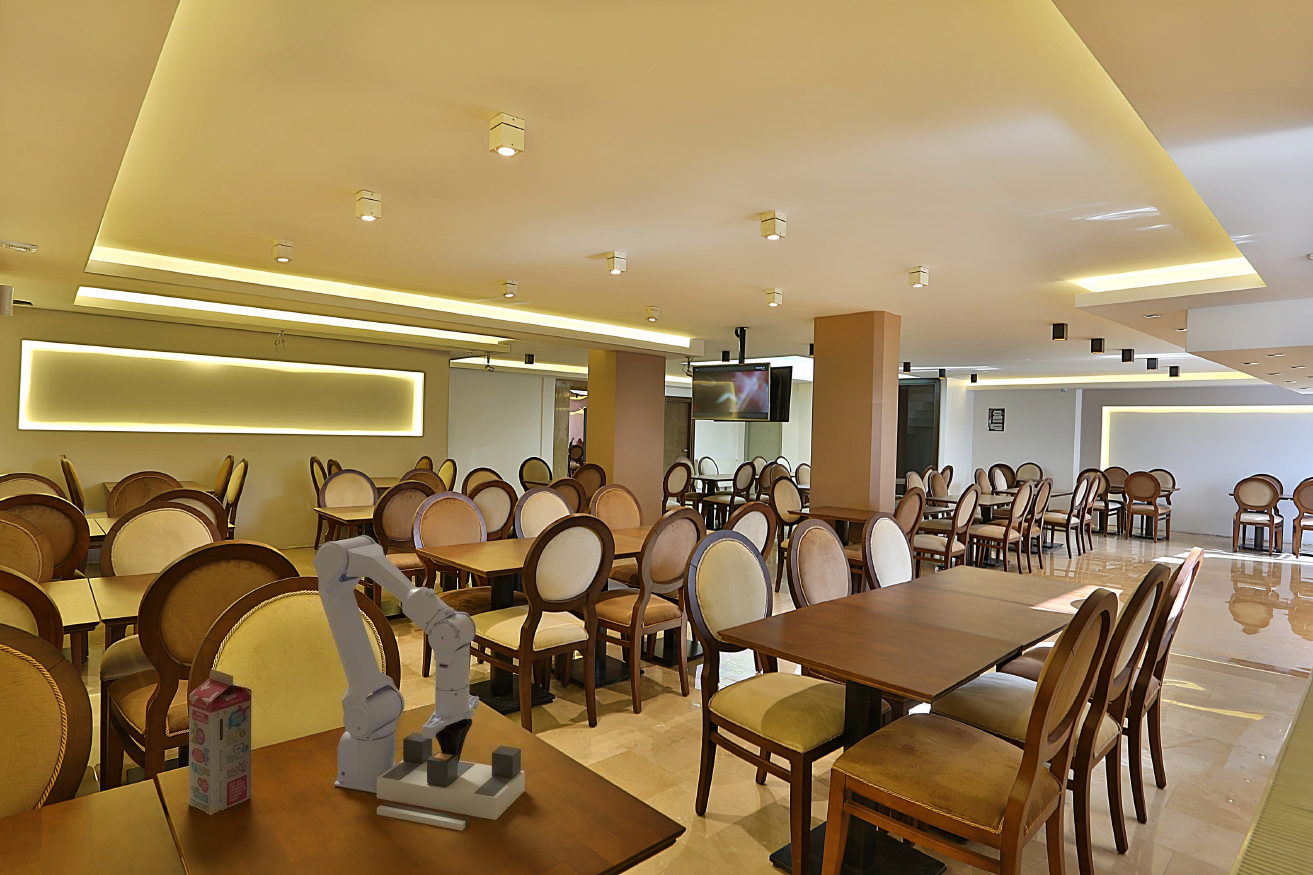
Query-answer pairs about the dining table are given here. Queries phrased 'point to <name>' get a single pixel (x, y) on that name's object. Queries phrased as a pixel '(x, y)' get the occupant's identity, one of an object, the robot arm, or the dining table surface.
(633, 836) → the dining table surface
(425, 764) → the white panel with blocks
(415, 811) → the long grey stick
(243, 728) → the juice carton
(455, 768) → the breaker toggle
